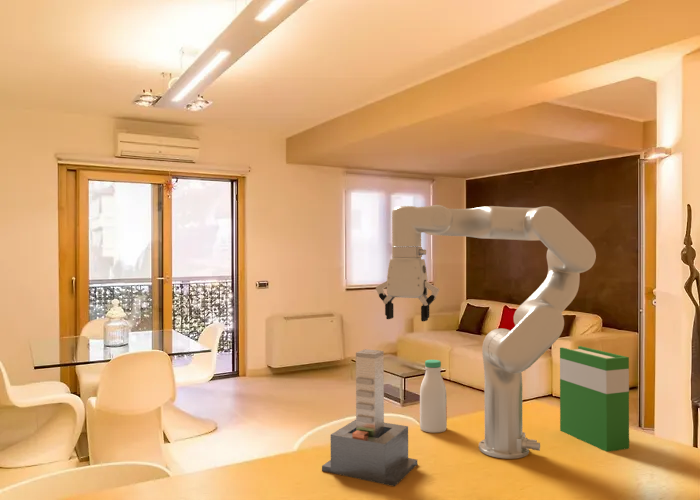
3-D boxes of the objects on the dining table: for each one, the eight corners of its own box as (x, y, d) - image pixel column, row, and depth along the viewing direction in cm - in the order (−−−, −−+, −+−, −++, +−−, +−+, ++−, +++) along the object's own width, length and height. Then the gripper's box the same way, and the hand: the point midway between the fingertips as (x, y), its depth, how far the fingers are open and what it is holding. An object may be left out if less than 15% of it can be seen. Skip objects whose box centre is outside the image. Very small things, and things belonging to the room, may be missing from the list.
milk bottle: (446, 434, 157) (445, 363, 157) (418, 432, 159) (418, 363, 159) (447, 425, 165) (446, 358, 165) (421, 424, 166) (420, 357, 166)
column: (383, 441, 134) (383, 350, 134) (373, 449, 129) (373, 355, 129) (365, 438, 137) (365, 349, 137) (354, 445, 132) (354, 353, 132)
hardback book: (560, 430, 160) (559, 347, 160) (581, 427, 162) (580, 346, 162) (606, 451, 143) (606, 359, 143) (629, 448, 145) (628, 357, 145)
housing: (417, 464, 135) (417, 423, 135) (394, 486, 123) (394, 441, 123) (349, 451, 144) (349, 413, 144) (321, 470, 132) (321, 428, 132)
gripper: (443, 253, 143) (443, 320, 143) (382, 253, 151) (382, 316, 151) (433, 254, 136) (433, 323, 136) (370, 254, 145) (370, 319, 145)
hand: (406, 319), depth 144 cm, fingers open, 9 cm apart
